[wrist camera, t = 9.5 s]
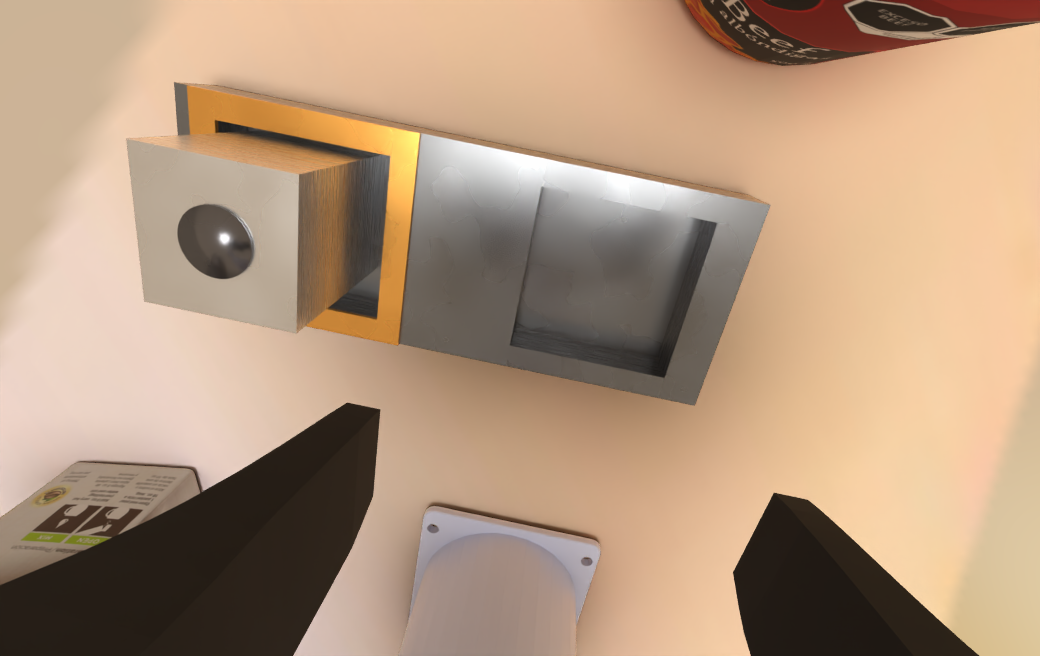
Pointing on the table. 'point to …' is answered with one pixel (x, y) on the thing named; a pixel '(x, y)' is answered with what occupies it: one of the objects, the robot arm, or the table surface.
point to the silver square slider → (254, 223)
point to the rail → (525, 250)
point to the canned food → (849, 25)
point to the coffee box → (86, 511)
